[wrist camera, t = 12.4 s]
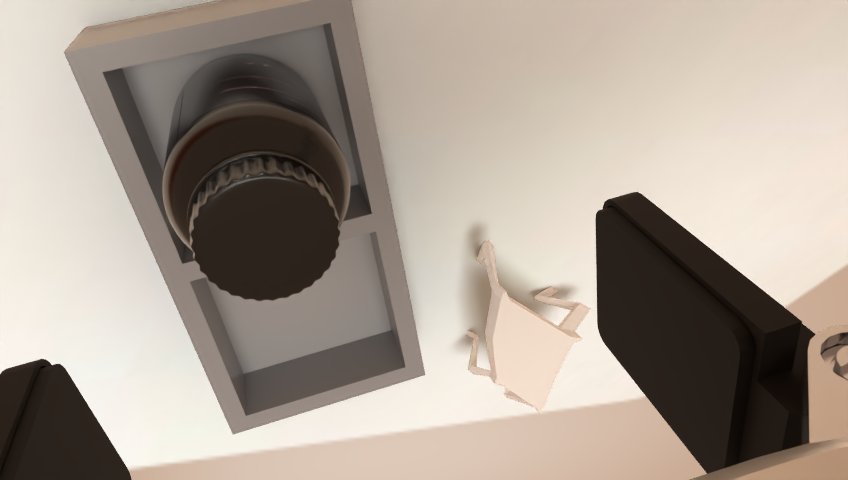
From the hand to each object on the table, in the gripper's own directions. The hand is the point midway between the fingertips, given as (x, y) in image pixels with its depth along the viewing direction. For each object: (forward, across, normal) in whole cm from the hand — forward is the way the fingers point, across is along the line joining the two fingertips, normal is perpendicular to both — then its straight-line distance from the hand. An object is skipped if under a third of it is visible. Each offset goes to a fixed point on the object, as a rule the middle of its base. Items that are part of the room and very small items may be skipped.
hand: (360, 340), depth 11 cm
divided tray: (+23, +2, +8) cm, 24 cm away
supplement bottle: (+22, +2, +3) cm, 22 cm away
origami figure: (+23, -9, +19) cm, 31 cm away
